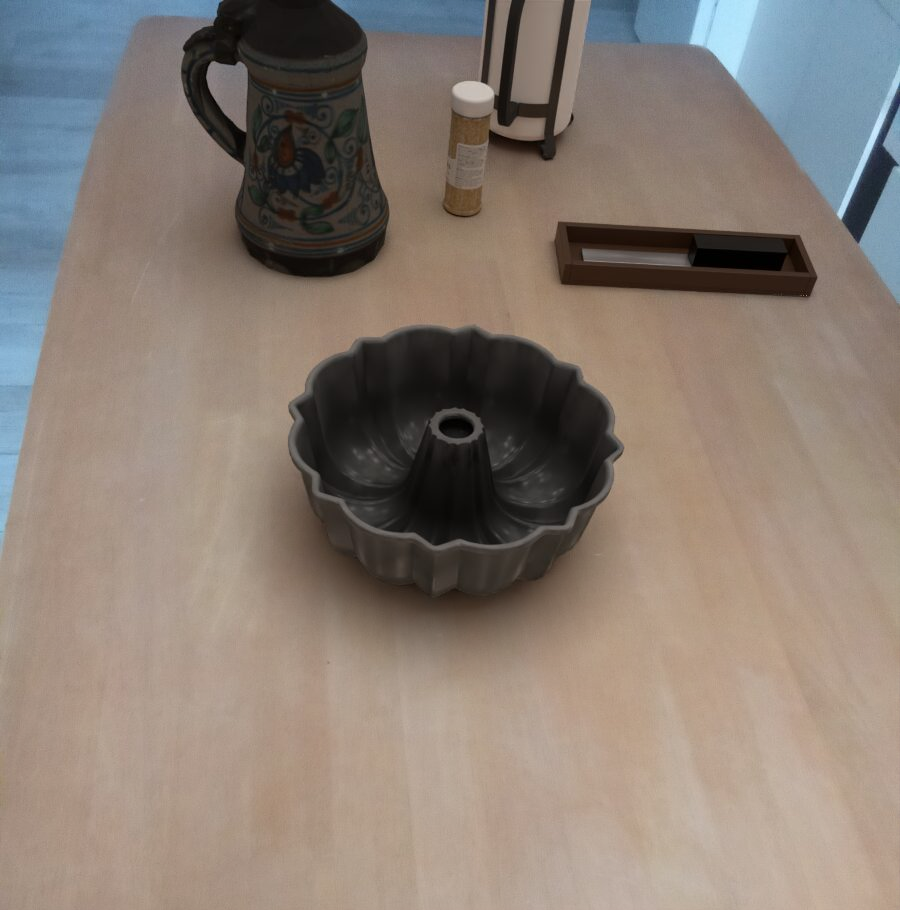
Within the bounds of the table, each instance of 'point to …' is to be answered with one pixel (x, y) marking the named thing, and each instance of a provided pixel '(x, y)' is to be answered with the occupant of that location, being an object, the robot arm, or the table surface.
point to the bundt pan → (452, 456)
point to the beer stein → (295, 132)
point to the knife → (706, 254)
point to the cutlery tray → (575, 236)
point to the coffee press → (533, 66)
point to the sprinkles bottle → (468, 146)
